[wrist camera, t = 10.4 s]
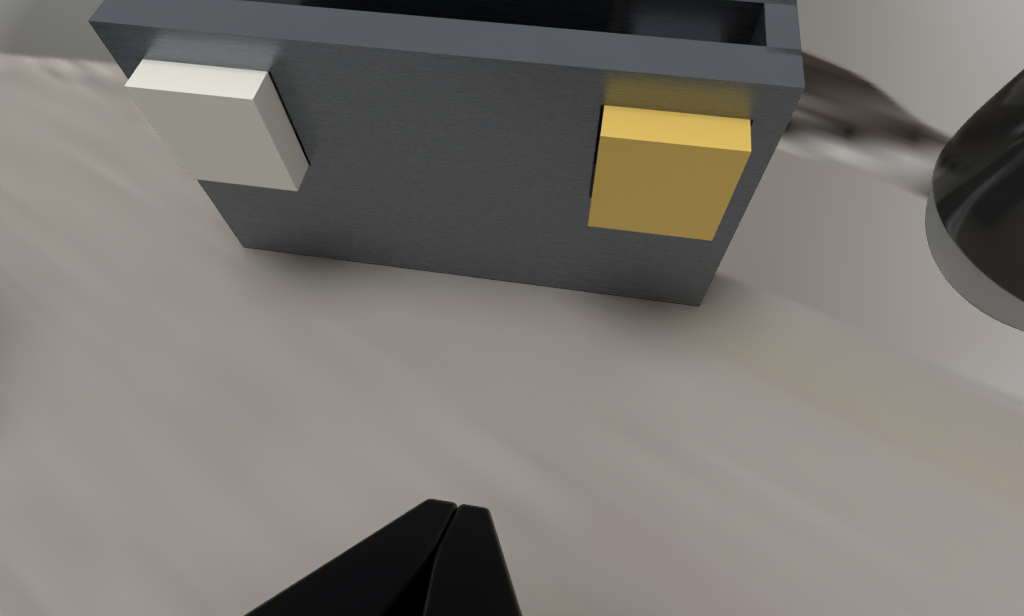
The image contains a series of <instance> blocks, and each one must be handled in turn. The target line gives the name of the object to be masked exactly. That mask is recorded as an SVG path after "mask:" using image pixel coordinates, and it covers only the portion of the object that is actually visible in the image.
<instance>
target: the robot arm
mask: <svg viewBox="0 0 1024 616" xmlns="http://www.w3.org/2000/svg"><path fill="white" fill-rule="evenodd" d="M244 616H522V613H521V610H520V607H519V603H518V600H517V597H516V594H515V591H514V587H513V584H512V581H511V578H510V574H509V571H508V568H507V565H506V562H505V558H504V555H503V552H502V549H501V545H500V542H499V539H498V536H497V533H496V529H495V526H494V523H493V520H492V516H491V513H490V511H489V510H488V509H487V508H484V507H478V506H472V505H466V504H462V505H460V506H459V507H457V505H456V504H455V503H453V502H448V501H442V500H436V499H428V500H425V501H424V502H422V503H421V504H419V505H417V506H416V507H414V508H413V509H411V510H410V511H408V512H406V513H405V514H403V515H402V516H400V517H399V518H397V519H395V520H394V521H392V522H391V523H389V524H387V525H386V526H384V527H383V528H381V529H380V530H378V531H376V532H375V533H373V534H372V535H370V536H369V537H367V538H365V539H364V540H362V541H361V542H359V543H358V544H356V545H354V546H353V547H351V548H350V549H348V550H346V551H345V552H343V553H342V554H340V555H339V556H337V557H335V558H334V559H332V560H331V561H329V562H328V563H326V564H324V565H323V566H321V567H320V568H318V569H317V570H315V571H313V572H312V573H310V574H309V575H307V576H305V577H304V578H302V579H301V580H299V581H298V582H296V583H294V584H293V585H291V586H290V587H288V588H287V589H285V590H283V591H282V592H280V593H279V594H277V595H276V596H274V597H272V598H271V599H269V600H268V601H266V602H264V603H263V604H261V605H260V606H258V607H257V608H255V609H253V610H252V611H250V612H249V613H247V614H246V615H244Z"/></svg>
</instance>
